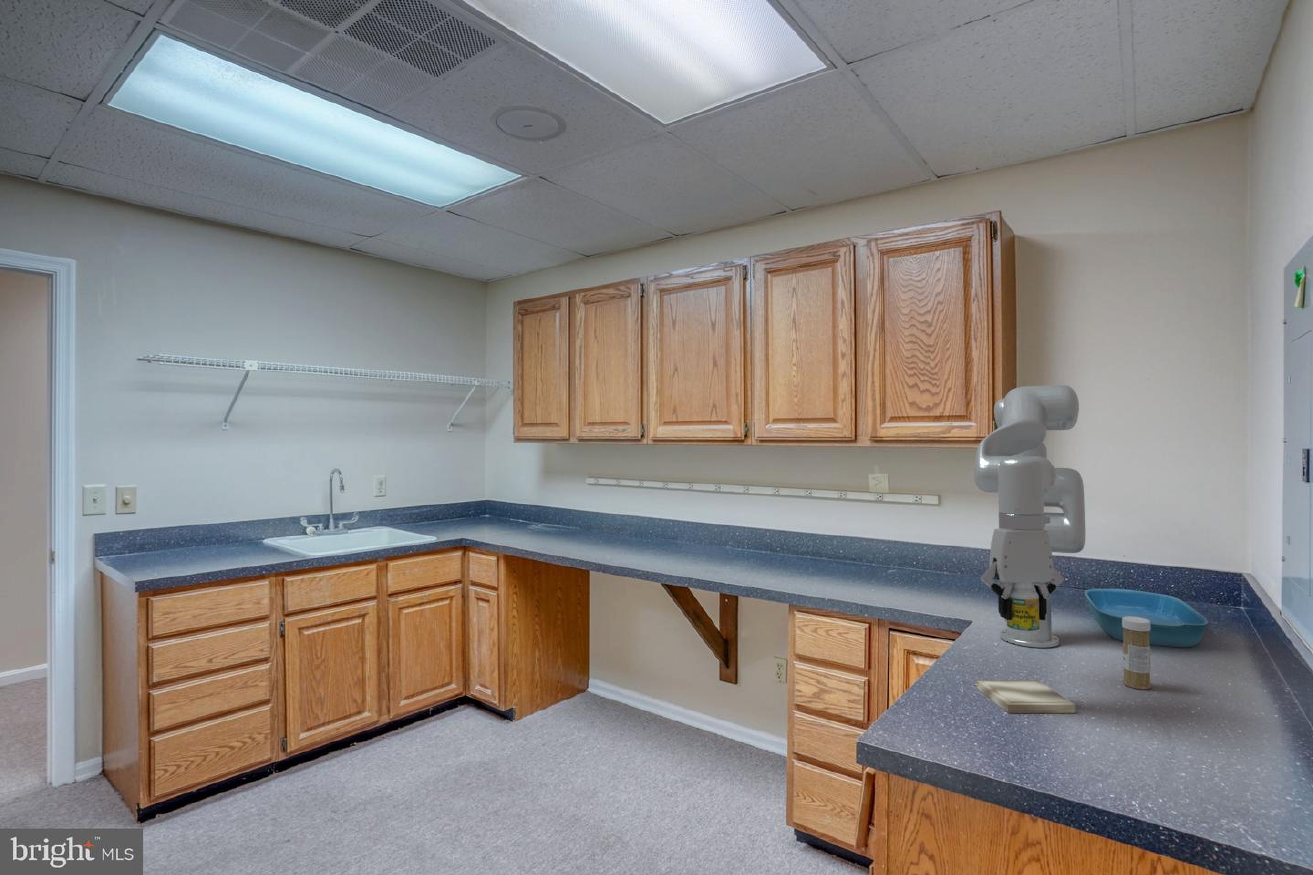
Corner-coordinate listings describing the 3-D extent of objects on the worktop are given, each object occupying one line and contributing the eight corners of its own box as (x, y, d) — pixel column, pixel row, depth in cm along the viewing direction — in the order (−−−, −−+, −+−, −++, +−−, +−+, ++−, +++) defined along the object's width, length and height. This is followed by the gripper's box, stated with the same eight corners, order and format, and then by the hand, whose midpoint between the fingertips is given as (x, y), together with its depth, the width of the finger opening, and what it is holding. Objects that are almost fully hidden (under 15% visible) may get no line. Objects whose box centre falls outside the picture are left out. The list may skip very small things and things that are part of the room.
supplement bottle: (1036, 628, 125) (1036, 577, 125) (1042, 636, 120) (1041, 583, 120) (1004, 625, 127) (1004, 575, 127) (1008, 633, 122) (1007, 581, 122)
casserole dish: (1222, 658, 146) (1222, 626, 146) (1104, 646, 156) (1103, 616, 156) (1173, 617, 180) (1173, 591, 180) (1078, 609, 189) (1077, 585, 189)
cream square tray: (976, 687, 129) (976, 679, 129) (1038, 687, 129) (1037, 679, 129) (1007, 712, 117) (1007, 703, 117) (1075, 712, 117) (1075, 703, 117)
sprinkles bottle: (1124, 680, 133) (1123, 614, 133) (1152, 685, 130) (1151, 618, 130) (1121, 686, 129) (1120, 618, 130) (1149, 692, 126) (1148, 623, 126)
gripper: (1055, 520, 127) (1056, 613, 127) (966, 520, 128) (967, 613, 127) (1079, 525, 120) (1080, 623, 119) (984, 525, 120) (986, 623, 120)
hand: (1022, 617), depth 123 cm, fingers closed on supplement bottle, 5 cm apart
